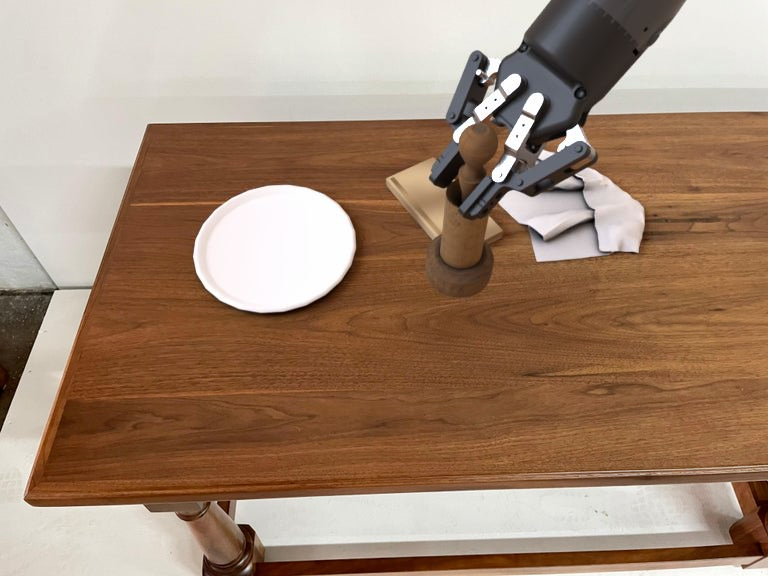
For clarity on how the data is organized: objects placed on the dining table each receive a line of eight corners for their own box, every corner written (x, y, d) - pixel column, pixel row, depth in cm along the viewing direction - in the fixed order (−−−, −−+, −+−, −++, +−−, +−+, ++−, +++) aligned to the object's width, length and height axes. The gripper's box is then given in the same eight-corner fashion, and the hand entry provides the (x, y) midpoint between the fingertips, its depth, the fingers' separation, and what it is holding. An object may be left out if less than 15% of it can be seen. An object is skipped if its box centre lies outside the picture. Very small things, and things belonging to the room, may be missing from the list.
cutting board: (501, 237, 79) (503, 230, 78) (451, 263, 77) (453, 256, 75) (433, 164, 87) (433, 156, 85) (385, 185, 84) (385, 177, 83)
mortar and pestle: (410, 267, 60) (417, 126, 45) (456, 233, 62) (477, 88, 47) (458, 310, 57) (483, 174, 42) (505, 272, 59) (543, 131, 44)
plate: (197, 330, 71) (194, 325, 70) (193, 201, 83) (191, 195, 82) (369, 301, 73) (369, 295, 72) (343, 180, 85) (342, 173, 84)
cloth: (659, 264, 77) (666, 252, 75) (487, 261, 77) (490, 249, 75) (626, 152, 88) (632, 139, 86) (476, 150, 88) (479, 137, 86)
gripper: (519, -56, 43) (377, 137, 50) (668, 46, 36) (480, 253, 43) (559, -7, 49) (427, 159, 56) (692, 88, 42) (524, 264, 49)
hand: (451, 199), depth 49 cm, fingers closed on mortar and pestle, 3 cm apart
